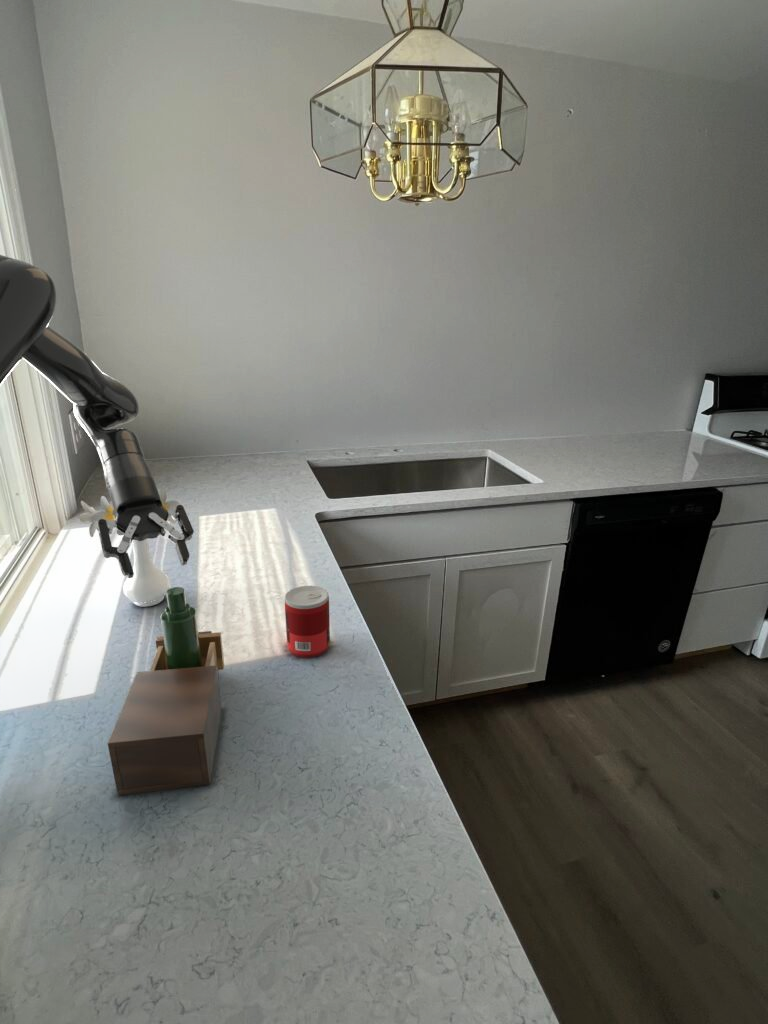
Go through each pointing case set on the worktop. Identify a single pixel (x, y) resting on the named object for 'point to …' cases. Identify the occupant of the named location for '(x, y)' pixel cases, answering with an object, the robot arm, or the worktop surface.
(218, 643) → the drawer
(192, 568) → the worktop surface
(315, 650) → the canned food
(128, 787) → the cabinet
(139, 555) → the flower vase
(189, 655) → the bottle
